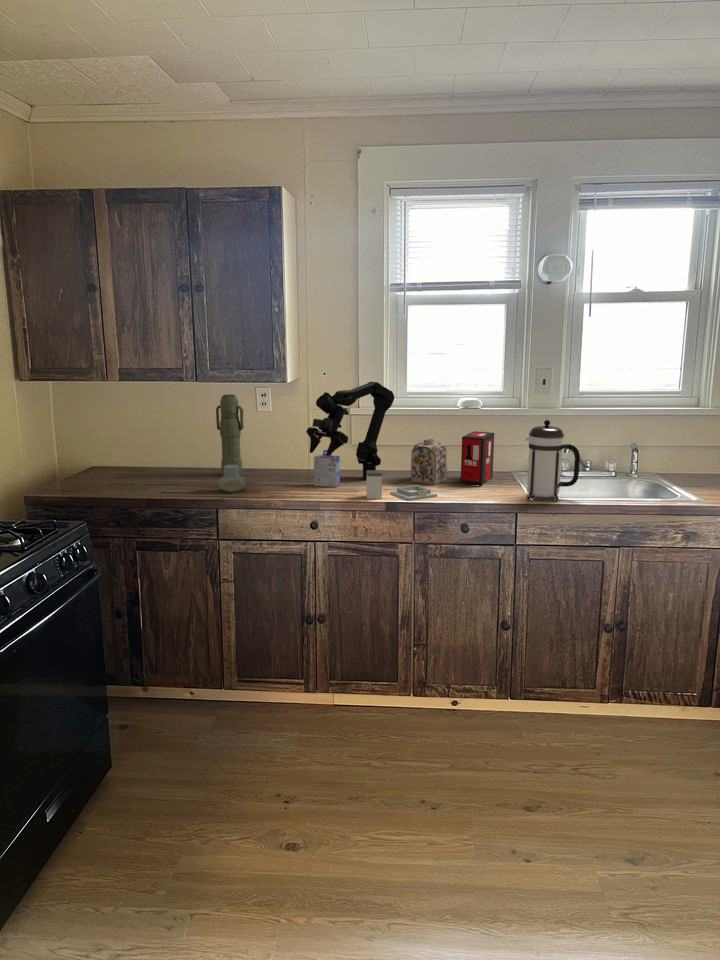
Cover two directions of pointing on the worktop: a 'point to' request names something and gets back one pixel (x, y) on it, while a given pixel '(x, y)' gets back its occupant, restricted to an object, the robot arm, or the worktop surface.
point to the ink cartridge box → (326, 470)
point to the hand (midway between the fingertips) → (318, 454)
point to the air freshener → (231, 479)
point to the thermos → (230, 431)
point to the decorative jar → (428, 462)
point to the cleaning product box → (477, 458)
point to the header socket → (413, 492)
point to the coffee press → (547, 461)
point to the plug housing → (374, 484)
